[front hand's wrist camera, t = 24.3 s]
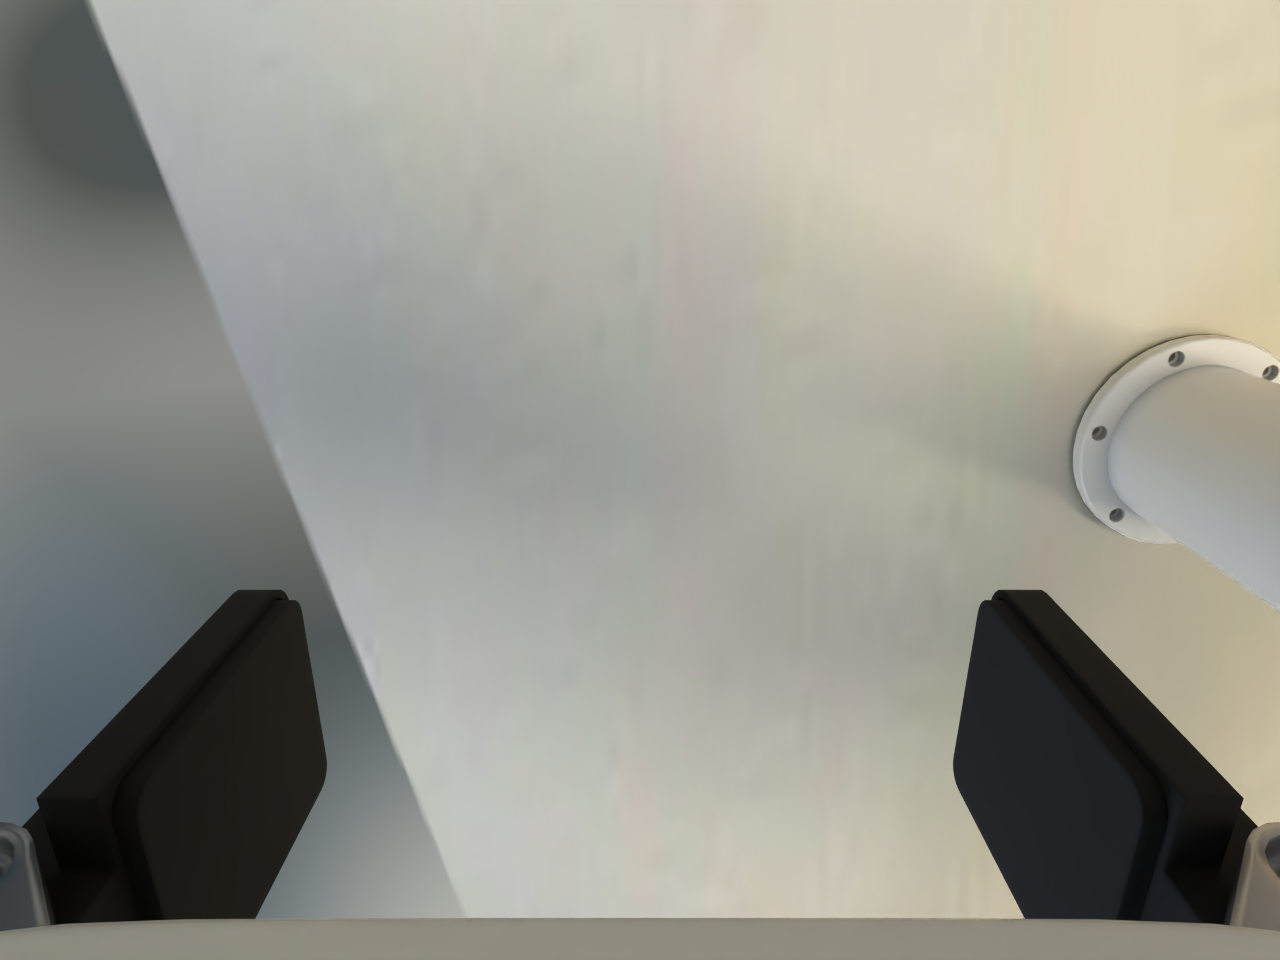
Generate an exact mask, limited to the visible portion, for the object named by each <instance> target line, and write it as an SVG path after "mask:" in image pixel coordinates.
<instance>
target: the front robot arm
mask: <svg viewBox="0 0 1280 960" xmlns="http://www.w3.org/2000/svg"><path fill="white" fill-rule="evenodd" d="M1094 429H1095V430H1094ZM1093 430H1094V431H1093ZM1073 472H1074V476H1075V481H1076V485H1077V488H1078V490H1079V492H1080V494H1081V497H1082V499H1083V501H1084V503H1085V504H1086V505H1087V506H1088V508H1089V509H1090V510H1091V511H1092V512H1093V514H1094V515H1095V516H1096V517H1097V518H1099V519H1100V520H1101V521H1102V522H1103V523H1105V524H1106V525H1107V526H1108V527H1110V528H1112V529H1113V530H1115V531H1117V532H1118V533H1120V534H1122V535H1123V536H1126V537H1129V538H1132V539H1134V540H1137V541H1140V542H1146V543H1154V544H1182V545H1183V546H1185V547H1186V548H1187V549H1189V550H1190V551H1192V552H1193V553H1195V554H1196V555H1198V556H1199V557H1200V558H1202V559H1203V560H1205V561H1206V562H1208V563H1209V564H1211V565H1212V566H1213V567H1215V568H1216V569H1218V570H1219V571H1221V572H1222V573H1224V574H1225V575H1227V576H1228V577H1229V578H1231V579H1232V580H1234V581H1235V582H1237V583H1238V584H1240V585H1241V586H1242V587H1244V588H1245V589H1247V590H1248V591H1250V592H1251V593H1253V594H1254V595H1255V596H1257V597H1258V598H1260V599H1261V600H1263V601H1264V602H1266V603H1267V604H1268V605H1270V606H1271V607H1273V608H1274V609H1276V610H1277V611H1279V612H1280V360H1279V359H1277V358H1276V357H1275V356H1274V355H1273V354H1272V353H1271V352H1269V351H1267V350H1265V349H1263V348H1261V347H1259V346H1257V345H1255V344H1253V343H1250V342H1247V341H1243V340H1240V339H1237V338H1233V337H1226V336H1219V335H1196V336H1188V337H1184V338H1180V339H1175V340H1171V341H1168V342H1166V343H1163V344H1161V345H1158V346H1156V347H1153V348H1151V349H1149V350H1147V351H1145V352H1144V353H1142V354H1140V355H1139V356H1137V357H1135V358H1134V359H1132V360H1131V361H1129V362H1128V363H1126V364H1125V365H1124V366H1123V367H1122V368H1121V369H1119V370H1118V371H1117V372H1116V373H1115V374H1113V375H1112V376H1111V377H1110V378H1109V379H1108V381H1107V382H1106V383H1105V384H1104V385H1103V386H1102V388H1101V389H1100V390H1099V391H1098V392H1097V393H1096V395H1095V396H1094V398H1093V400H1092V401H1091V403H1090V404H1089V406H1088V408H1087V409H1086V411H1085V413H1084V415H1083V418H1082V420H1081V423H1080V425H1079V428H1078V430H1077V434H1076V439H1075V444H1074V449H1073ZM326 771H327V759H326V753H325V746H324V740H323V734H322V729H321V723H320V717H319V711H318V705H317V699H316V693H315V687H314V681H313V675H312V669H311V663H310V657H309V651H308V645H307V639H306V633H305V627H304V622H303V615H302V610H301V607H300V605H299V603H298V602H297V601H296V600H289V599H288V597H287V595H286V593H285V592H283V591H282V590H238V591H236V592H235V593H233V594H232V595H231V596H230V597H229V598H228V599H227V600H226V602H225V603H224V604H223V605H222V606H221V607H220V608H219V609H218V610H217V611H216V612H215V613H214V614H213V615H212V616H211V617H210V618H209V619H208V620H207V621H206V622H205V623H204V624H203V626H202V627H201V628H200V629H199V630H198V631H197V632H196V633H195V634H194V635H193V636H192V637H191V638H190V639H189V640H188V641H187V642H186V643H185V644H184V645H183V646H182V647H181V648H180V649H179V650H178V652H177V653H176V654H175V655H174V656H173V657H172V658H171V659H170V660H169V661H168V662H167V663H166V664H165V665H164V666H163V667H162V668H161V669H160V670H159V671H158V672H157V673H156V674H155V676H154V677H153V678H152V679H151V680H150V681H149V682H148V683H147V684H146V685H145V686H144V687H143V688H142V689H141V690H140V691H139V692H138V693H137V694H136V695H135V696H134V697H133V698H132V699H131V701H130V702H129V703H128V704H127V705H126V706H125V707H124V708H123V709H122V710H121V711H120V712H119V713H118V714H117V715H116V716H115V717H114V718H113V719H112V720H111V721H110V722H109V723H108V724H107V726H106V727H105V728H104V729H103V730H102V731H101V732H100V733H99V734H98V735H97V736H96V737H95V738H94V739H93V740H92V741H91V742H90V743H89V744H88V745H87V746H86V747H85V748H84V749H83V750H82V752H81V753H80V754H79V755H78V756H77V757H76V758H75V759H74V760H73V761H72V762H71V763H70V764H69V765H68V766H67V767H66V768H65V769H64V770H63V771H62V772H61V773H60V774H59V776H58V777H57V778H56V779H55V780H54V781H53V782H52V783H51V784H50V785H49V786H48V787H47V788H46V789H45V790H44V791H43V792H42V793H41V794H40V795H39V796H38V797H37V802H38V805H39V809H38V810H37V812H36V813H35V814H34V815H33V816H32V817H31V818H30V819H29V820H28V821H27V822H26V823H25V824H24V825H23V826H22V827H20V826H18V825H16V824H14V823H4V822H0V960H1280V822H1276V823H1266V824H1264V825H1262V826H1260V827H1258V826H1257V825H1256V824H1255V823H1254V822H1253V821H1252V820H1251V819H1250V818H1249V817H1248V816H1247V815H1246V814H1245V813H1244V811H1243V810H1242V809H1241V805H1242V802H1243V799H1244V798H1243V797H1242V796H1241V795H1240V794H1239V793H1238V792H1237V791H1236V790H1235V789H1234V788H1233V787H1232V786H1231V785H1230V784H1229V783H1228V782H1227V781H1226V780H1225V779H1224V778H1223V777H1222V775H1221V774H1220V773H1219V772H1218V771H1217V770H1216V769H1215V768H1214V767H1213V766H1212V765H1211V764H1210V763H1209V762H1208V761H1207V760H1206V759H1205V758H1204V757H1203V756H1202V755H1201V754H1200V753H1199V752H1198V750H1197V749H1196V748H1195V747H1194V746H1193V745H1192V744H1191V743H1190V742H1189V741H1188V740H1187V739H1186V738H1185V737H1184V736H1183V735H1182V734H1181V733H1180V732H1179V731H1178V730H1177V729H1176V728H1175V727H1174V725H1173V724H1172V723H1171V722H1170V721H1169V720H1168V719H1167V718H1166V717H1165V716H1164V715H1163V714H1162V713H1161V712H1160V711H1159V710H1158V709H1157V708H1156V707H1155V706H1154V705H1153V704H1152V703H1151V702H1150V700H1149V699H1148V698H1147V697H1146V696H1145V695H1144V694H1143V693H1142V692H1141V691H1140V690H1139V689H1138V688H1137V687H1136V686H1135V685H1134V684H1133V683H1132V682H1131V681H1130V680H1129V679H1128V678H1127V677H1126V675H1125V674H1124V673H1123V672H1122V671H1121V670H1120V669H1119V668H1118V667H1117V666H1116V665H1115V664H1114V663H1113V662H1112V661H1111V660H1110V659H1109V658H1108V657H1107V656H1106V655H1105V654H1104V653H1103V652H1102V650H1101V649H1100V648H1099V647H1098V646H1097V645H1096V644H1095V643H1094V642H1093V641H1092V640H1091V639H1090V638H1089V637H1088V636H1087V635H1086V634H1085V633H1084V632H1083V631H1082V630H1081V629H1080V628H1079V627H1078V625H1077V624H1076V623H1075V622H1074V621H1073V620H1072V619H1071V618H1070V617H1069V616H1068V615H1067V614H1066V613H1065V612H1064V611H1063V610H1062V609H1061V608H1060V607H1059V606H1058V605H1057V604H1056V603H1055V602H1054V600H1053V599H1052V598H1051V597H1050V596H1049V595H1048V594H1047V593H1045V592H1044V591H1043V590H998V591H996V592H995V593H994V595H993V597H992V599H991V600H984V601H983V602H982V603H981V605H980V607H979V610H978V615H977V621H976V627H975V633H974V639H973V645H972V651H971V657H970V663H969V669H968V675H967V681H966V687H965V693H964V699H963V705H962V711H961V717H960V723H959V729H958V734H957V740H956V746H955V752H954V759H953V771H954V777H955V781H956V785H957V787H958V789H959V791H960V793H961V795H962V797H963V799H964V801H965V803H966V805H967V807H968V809H969V811H970V813H971V815H972V817H973V819H974V821H975V823H976V824H977V826H978V828H979V830H980V832H981V834H982V836H983V838H984V840H985V842H986V844H987V846H988V848H989V850H990V852H991V854H992V856H993V858H994V859H995V861H996V863H997V865H998V867H999V869H1000V871H1001V873H1002V875H1003V877H1004V879H1005V881H1006V883H1007V885H1008V887H1009V889H1010V891H1011V893H1012V894H1013V896H1014V898H1015V900H1016V902H1017V904H1018V906H1019V908H1020V910H1021V912H1022V914H1023V916H1024V918H1025V919H956V918H326V919H325V918H324V919H255V918H256V916H257V914H258V912H259V910H260V908H261V906H262V904H263V902H264V900H265V898H266V896H267V894H268V893H269V891H270V889H271V887H272V885H273V883H274V881H275V879H276V877H277V875H278V873H279V871H280V869H281V867H282V865H283V863H284V861H285V859H286V858H287V856H288V854H289V852H290V850H291V848H292V846H293V844H294V842H295V840H296V838H297V836H298V834H299V832H300V830H301V828H302V826H303V824H304V823H305V821H306V819H307V817H308V815H309V813H310V811H311V809H312V807H313V805H314V803H315V801H316V799H317V797H318V795H319V793H320V791H321V789H322V787H323V784H324V781H325V777H326Z"/></svg>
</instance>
